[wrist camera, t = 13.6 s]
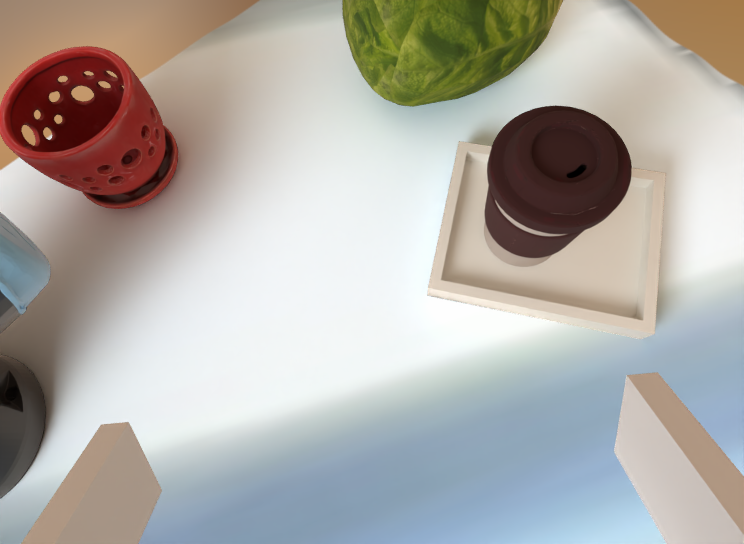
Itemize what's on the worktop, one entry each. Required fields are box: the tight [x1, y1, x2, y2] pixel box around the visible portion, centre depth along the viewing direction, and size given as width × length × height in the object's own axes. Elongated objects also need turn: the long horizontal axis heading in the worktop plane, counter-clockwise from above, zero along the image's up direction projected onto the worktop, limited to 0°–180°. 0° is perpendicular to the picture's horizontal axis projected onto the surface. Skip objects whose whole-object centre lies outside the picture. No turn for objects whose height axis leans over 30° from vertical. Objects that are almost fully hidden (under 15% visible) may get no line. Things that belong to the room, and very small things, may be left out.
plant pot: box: [0, 46, 178, 209], centre depth 49 cm, size 13×13×12 cm
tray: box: [427, 141, 666, 339], centre depth 46 cm, size 20×16×3 cm
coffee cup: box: [484, 106, 632, 267], centre depth 39 cm, size 10×10×15 cm
